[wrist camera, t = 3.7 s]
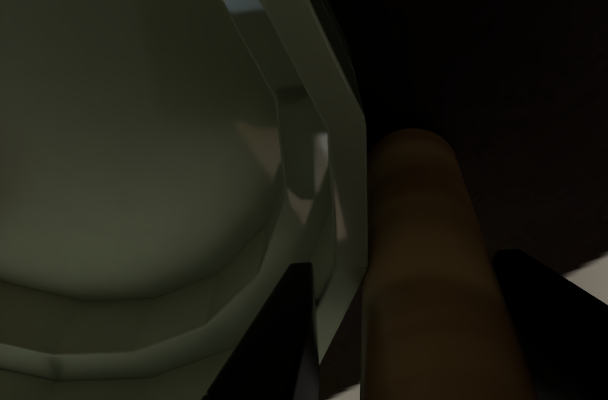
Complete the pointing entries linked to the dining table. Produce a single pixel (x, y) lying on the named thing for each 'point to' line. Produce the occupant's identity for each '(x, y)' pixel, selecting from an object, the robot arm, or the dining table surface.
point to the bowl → (169, 186)
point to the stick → (431, 284)
